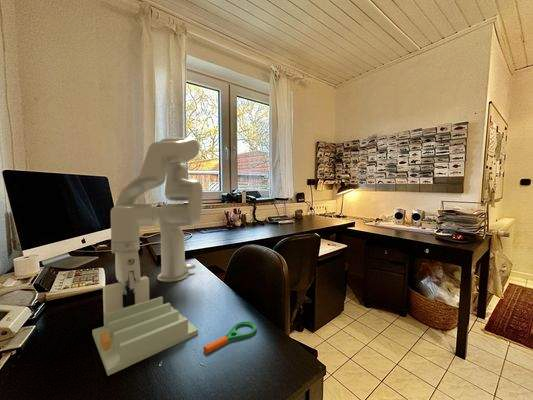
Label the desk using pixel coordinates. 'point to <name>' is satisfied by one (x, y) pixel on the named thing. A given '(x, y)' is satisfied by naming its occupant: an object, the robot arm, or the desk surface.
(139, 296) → the panel
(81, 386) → the desk surface
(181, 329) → the rack
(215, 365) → the desk surface
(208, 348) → the magnifying glass
